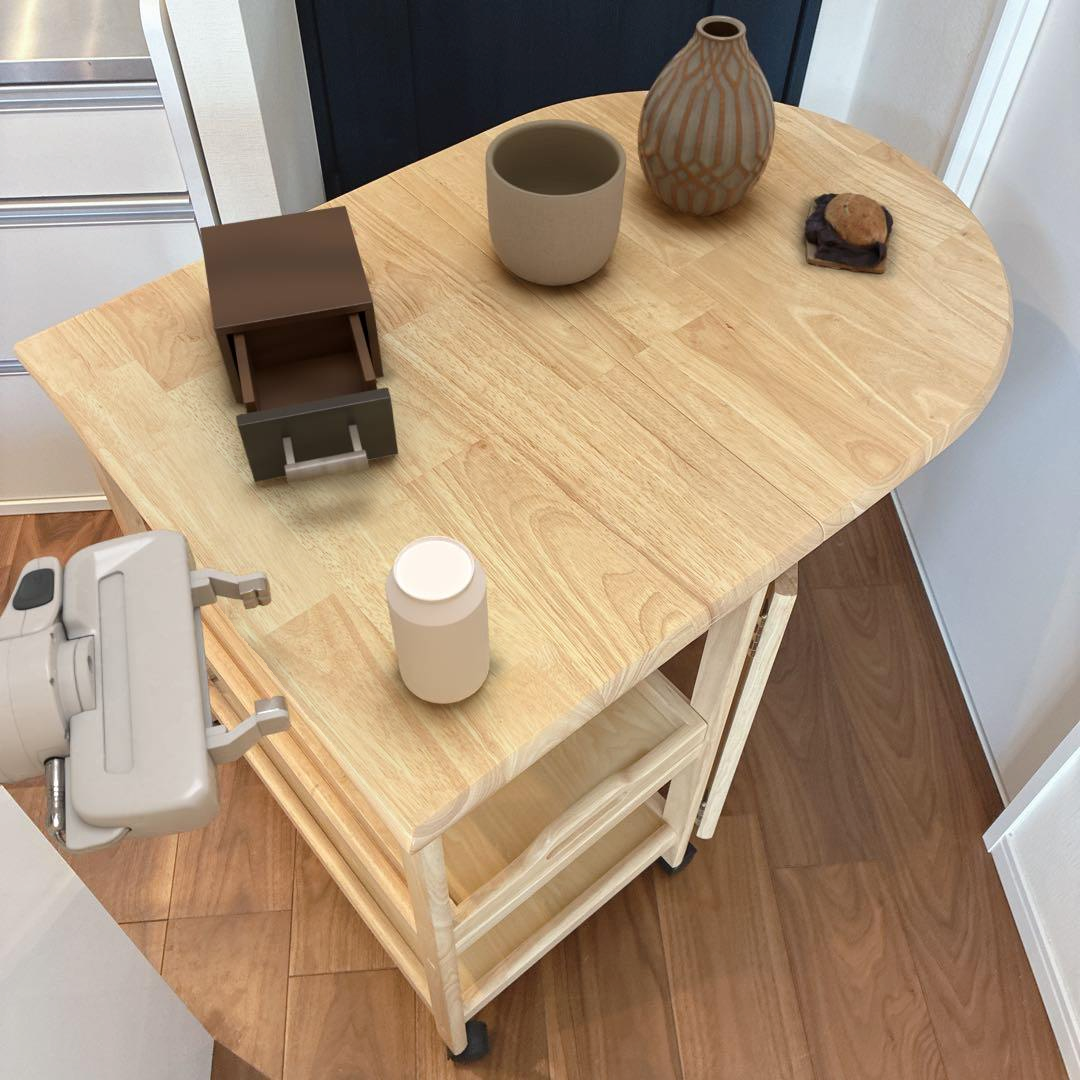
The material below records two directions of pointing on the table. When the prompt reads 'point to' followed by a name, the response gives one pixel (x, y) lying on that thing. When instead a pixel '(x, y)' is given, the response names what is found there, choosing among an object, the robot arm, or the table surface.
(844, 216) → the bread roll
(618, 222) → the planter
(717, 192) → the vase
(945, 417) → the table surface
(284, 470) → the drawer
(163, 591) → the robot arm
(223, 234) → the cabinet
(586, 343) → the table surface
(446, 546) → the beverage can
